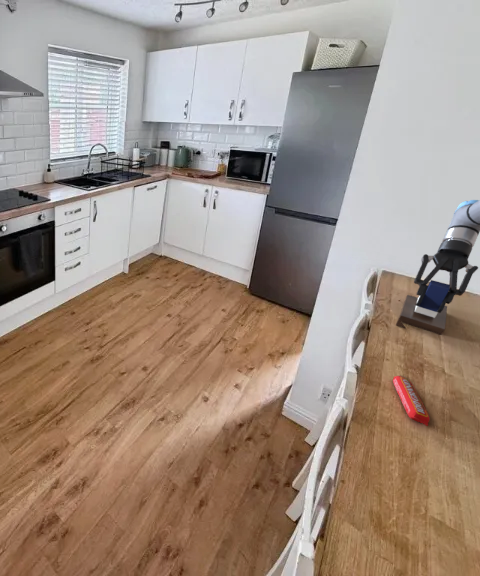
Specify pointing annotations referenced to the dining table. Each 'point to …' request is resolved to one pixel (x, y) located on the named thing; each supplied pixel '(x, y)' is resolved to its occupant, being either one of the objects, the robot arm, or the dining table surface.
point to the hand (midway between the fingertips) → (429, 307)
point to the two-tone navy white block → (433, 298)
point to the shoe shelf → (421, 317)
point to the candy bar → (411, 400)
